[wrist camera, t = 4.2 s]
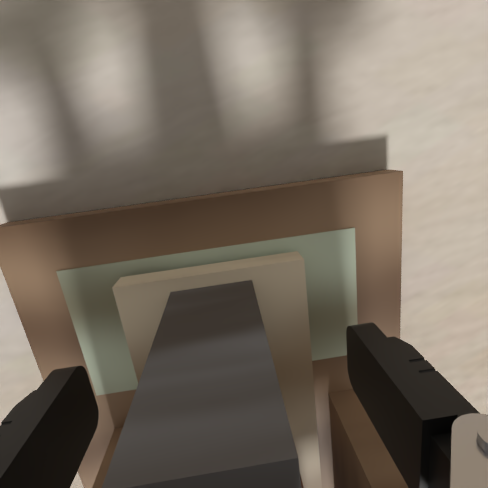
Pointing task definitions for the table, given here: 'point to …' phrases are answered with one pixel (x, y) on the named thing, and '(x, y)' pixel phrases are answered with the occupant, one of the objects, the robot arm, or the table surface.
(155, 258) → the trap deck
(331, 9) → the table surface
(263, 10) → the table surface
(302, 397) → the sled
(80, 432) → the robot arm
